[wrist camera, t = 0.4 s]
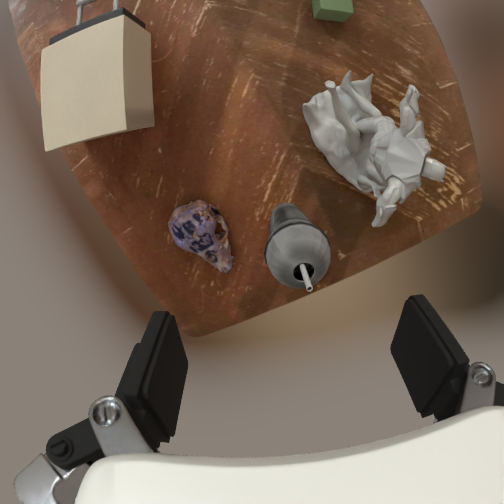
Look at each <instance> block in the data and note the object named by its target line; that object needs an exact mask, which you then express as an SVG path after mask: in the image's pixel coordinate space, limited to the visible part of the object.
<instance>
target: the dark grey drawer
mask: <svg viewBox="0 0 504 504" xmlns="http://www.w3.org/2000/svg"><path fill="white" fill-rule="evenodd" d="M94 1H96V0H78V1H77V2H76V6H77V7H78V13H77V22H76V26H74V27H72V28H70V29H68V30H66V31H64V32H62V33H60V34H58V35H56V36H54V37H52V38H50V42H49V46H50V45H52V44H54V43H56V42H58V41H60V40H62V39H64V38H66V37H68V36H70V35H72V34H74V33H77V32H79V31H81V30H84V29H86V28H88V27H91V26H93V25H96V24H98V23H101V22H104V21H106V20H109V19H112V18H115V17H118V16H121V15H125V16H127V17H128V18H130V19H131V20H133V21H134V22H135V23H137V24H138V25H140V26H141V27H142V28H144V29H145V23H143V22H142V21H141V20H139V19H138V18H137V17H135V16H134V15H133V14H131V13H130V12H129V11H127V10H126V9H125V8H123V7H122V8H119V0H114V5H113V11H111V12H108V13H105V14H103V15H100V16H97V17H95V18H92V19H90V20H88V21H85V22H83V23H82V13H83V6H85V5H87V4H89V3H92V2H94Z"/></svg>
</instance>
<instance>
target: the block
mask: <svg viewBox="0 0 504 504" xmlns="http://www.w3.org/2000/svg"><path fill="white" fill-rule="evenodd" d="M312 7H313V16H314V19H320V20H329V21H336V22H343V23H344V22H345V21H346V20H347V19H348V18H349V17H350V16H351V15H352V14H353V13H354V11H353V5H352V0H312Z"/></svg>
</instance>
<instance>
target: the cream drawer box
mask: <svg viewBox="0 0 504 504" xmlns="http://www.w3.org/2000/svg"><path fill="white" fill-rule="evenodd" d="M41 112H42V126H43V136H44V145H45V152H47V151H50V150H54V149H58V148H61V147H65V146H69V145H73V144H77V143H81V142H85V141H89V140H93V139H97V138H101V137H105V136H109V135H113V134H118V133H123V132H127V131H132V130H137V129H143V128H148V127H154V126H155V120H154V107H153V90H152V66H151V34H150V33H149V32H148V31H146V30H145V29H144V28H142V27H141V26H140V25H138V24H137V23H135V22H134V21H133V20H131V19H130V18H128V17H127V16H125V15H121V16H118V17H115V18H112V19H109V20H106V21H104V22H101V23H98V24H96V25H93V26H91V27H88V28H86V29H84V30H81V31H79V32H77V33H74V34H72V35H70V36H68V37H66V38H64V39H62V40H60V41H58V42H56V43H54V44H52V45H50V46H48V47H46V48H45V49H43V50H42V55H41Z"/></svg>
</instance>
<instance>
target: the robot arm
mask: <svg viewBox="0 0 504 504" xmlns="http://www.w3.org/2000/svg"><path fill="white" fill-rule="evenodd" d="M390 349H391V354H392V356H393V358H394V360H395V362H396V364H397V367H398V369H399V371H400V373H401V375H402V378H403V380H404V382H405V384H406V387H407V389H408V391H409V394H410V396H411V398H412V401H413V403H414V405H415V408H416V410H417V412H420V413H421V416H422V418H424V417H427V416H430V415H432V414H434V416H435V420H434V423H433V424H432V425H428V426H426V427H423V428H420V429H417V430H414V431H410V432H407V433H404V434H401V435H397V436H394V437H390V438H387V439H383V440H379V441H375V442H371V443H366V444H362V445H357V446H352V447H347V448H342V449H336V450H331V451H323V452H316V453H309V454H299V455H289V456H275V457H254V458H253V457H251V458H250V457H249V458H233V457H202V456H188V455H176V454H163V453H160V451H159V450H158V448H159V446H160V442H167V443H169V440H170V436H172V437H173V436H174V435H175V431H176V425H177V420H178V415H179V410H180V404H181V399H182V394H183V389H184V384H185V379H186V375H187V370H188V360H187V357H186V354H185V351H184V347H183V345H182V341H181V338H180V334H179V331H178V327H177V324H176V320H175V317H174V315H170V313H169V312H168V311H155V312H154V313H153V314H152V317H151V319H150V321H149V324H148V326H147V328H146V331H145V333H144V335H143V338H142V340H141V343H137V344H136V345H135V347H134V349H133V351H132V353H131V356H130V358H129V361H128V363H127V366H126V368H125V371H124V373H123V376H122V378H121V381H120V383H119V386H118V388H117V391H116V394H115V396H104V397H100V398H99V399H97V400H95V401H94V402H93V404H92V405H91V407H90V409H89V414H88V415H89V418H87V419H85V420H83V421H81V422H79V423H77V424H75V425H74V426H71V427H69V428H68V429H65V430H63V431H61V432H59V433H57V434H55V435H54V436H52V437H51V438H50V439H49V441H48V443H47V445H46V453H45V454H44V455H43V454H42V453H41V454H40V455H39V456H37V457H36V458H35V459H34V460H33V461H32V462H31V463H30V464H29V465H28V466H27V467H26V468H24V469H23V470H22V471H21V472H20V473H19V474H18V475H17V476H16V478H15V480H14V489H15V492H16V494H17V495H18V497H19V498H20V500H21V501H22V503H23V504H504V384H501V383H499V382H497V381H496V376H495V373H494V371H493V369H492V368H491V367H490V366H489V365H487V364H485V363H483V362H476V363H473V364H472V365H471V366H470V365H469V364H468V363H469V358H468V357H467V355H466V354H465V352H464V351H463V349H462V348H461V346H460V345H459V343H458V342H457V340H456V339H455V338H454V336H453V335H452V333H451V332H450V330H449V329H448V328H447V326H446V325H445V323H444V322H443V321H442V319H441V318H440V316H439V315H438V313H437V312H436V311H435V310H434V308H433V307H432V305H431V304H430V303H429V302H428V300H427V299H426V298H425V296H424V295H422V294H420V295H413V296H410V297H409V298H408V300H406V301H405V304H404V307H403V311H402V314H401V317H400V320H399V323H398V326H397V329H396V332H395V335H394V338H393V341H392V344H391V348H390ZM75 498H76V501H75Z"/></svg>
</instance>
